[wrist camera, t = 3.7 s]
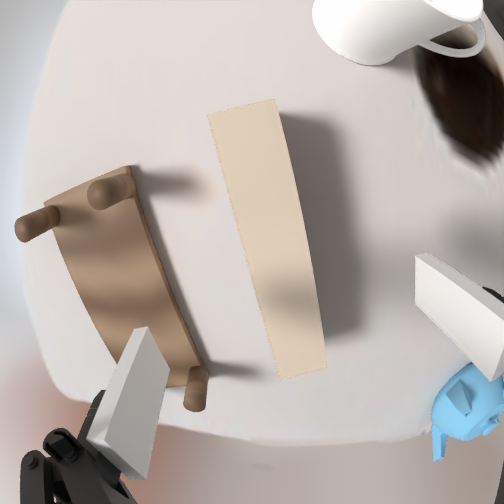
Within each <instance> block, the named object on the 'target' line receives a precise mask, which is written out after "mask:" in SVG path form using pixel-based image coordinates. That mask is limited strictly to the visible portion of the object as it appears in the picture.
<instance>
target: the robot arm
mask: <svg viewBox="0 0 504 504" xmlns="http://www.w3.org/2000/svg"><path fill="white" fill-rule="evenodd" d="M483 9H484V11H485V12H486V14H487V16H488V17H489V19H490V20H491V22H492V23H493V25H494V26H495V28H496V29H497V31H498V32H499V34H500V35H501V36H502V38H503V39H504V0H483ZM415 304H416V305H417V306H418V307H419V308H420V309H421V310H422V311H423V312H424V313H425V314H426V315H427V316H428V317H429V318H430V319H431V320H432V321H433V322H434V323H435V324H436V325H437V326H438V327H439V328H440V329H441V330H442V331H443V332H444V333H445V334H446V335H447V336H448V337H449V338H450V339H451V340H452V341H453V342H454V343H455V344H456V345H457V346H458V347H459V349H460V350H461V351H462V352H463V353H464V354H465V355H466V356H467V357H468V358H469V359H470V360H471V361H472V362H473V364H474V365H475V366H476V367H477V368H478V369H479V370H480V371H481V372H482V373H483V375H484V376H485V377H486V378H487V379H488V380H489V381H490V383H491V382H492V381H494V380H495V379H496V378H498V377H499V376H501V375H502V374H503V372H504V297H501V295H500V294H498V293H497V292H496V291H494V290H492V289H489V288H486V287H482V288H481V287H480V286H479V285H477V284H476V283H474V282H473V281H471V280H470V279H468V278H467V277H465V276H464V275H462V274H461V273H459V272H458V271H456V270H455V269H453V268H452V267H450V266H449V265H447V264H445V263H444V262H442V261H441V260H439V259H438V258H436V257H434V256H433V255H431V254H430V253H428V252H426V253H423V254H420V255H417V256H415ZM169 371H170V368H169V366H168V364H167V363H166V361H165V359H164V357H163V355H162V353H161V351H160V349H159V347H158V346H157V344H156V342H155V340H154V338H153V336H152V334H151V332H150V330H149V328H148V326H147V327H142V328H137V329H134V330H133V333H132V335H131V337H130V339H129V341H128V343H127V345H126V347H125V349H124V351H123V353H122V356H121V358H120V360H119V362H118V364H117V366H116V369H115V371H114V373H113V375H112V377H111V380H110V382H109V384H108V387H107V389H106V390H101V391H100V392H99V394H98V395H97V396H96V397H95V398H94V400H93V402H92V405H91V407H90V410H89V411H88V414H87V417H86V418H85V421H84V423H83V425H82V428H81V430H80V433H79V435H78V438H77V439H76V438H75V437H74V436H73V435H72V434H71V433H70V432H69V431H68V430H66V429H64V428H58V429H55V430H53V431H51V432H50V433H49V434H48V435H47V436H46V438H45V439H44V442H43V449H44V450H45V451H46V452H47V453H48V454H49V455H50V456H51V457H47V458H46V457H45V456H44V455H43V454H42V453H41V452H40V451H37V450H32V451H30V452H28V453H27V454H26V455H25V456H24V457H23V459H22V462H21V474H20V504H137V503H136V501H135V499H134V498H133V497H132V495H131V493H130V492H129V490H128V489H127V487H126V486H125V484H124V483H123V482H122V481H121V480H120V479H119V478H120V474H121V472H122V473H123V474H124V475H125V476H127V477H128V478H129V479H139V480H146V479H147V474H148V469H149V463H150V458H151V453H152V448H153V443H154V438H155V433H156V428H157V424H158V419H159V414H160V410H161V405H162V401H163V397H164V392H165V388H166V384H167V379H168V375H169ZM54 497H56V503H55V502H54ZM495 504H504V463H503V468H502V474H501V479H500V483H499V488H498V492H497V496H496V500H495Z"/></svg>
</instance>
